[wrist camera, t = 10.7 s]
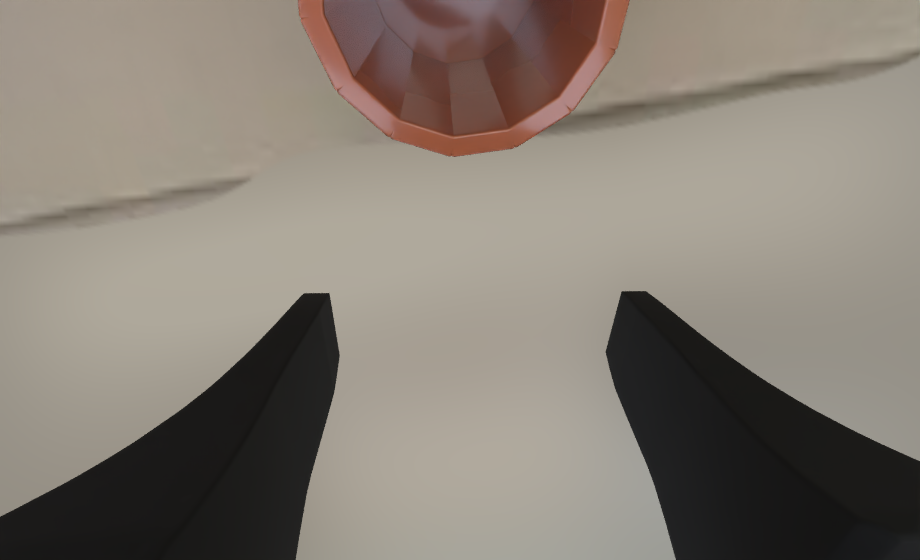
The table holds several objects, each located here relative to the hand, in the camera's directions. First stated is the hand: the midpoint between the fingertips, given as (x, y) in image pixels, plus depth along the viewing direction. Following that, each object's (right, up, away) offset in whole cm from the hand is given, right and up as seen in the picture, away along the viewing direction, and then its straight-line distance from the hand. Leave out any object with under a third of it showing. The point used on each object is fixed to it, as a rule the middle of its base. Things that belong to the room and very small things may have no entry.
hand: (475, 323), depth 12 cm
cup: (-1, +10, +1) cm, 10 cm away
